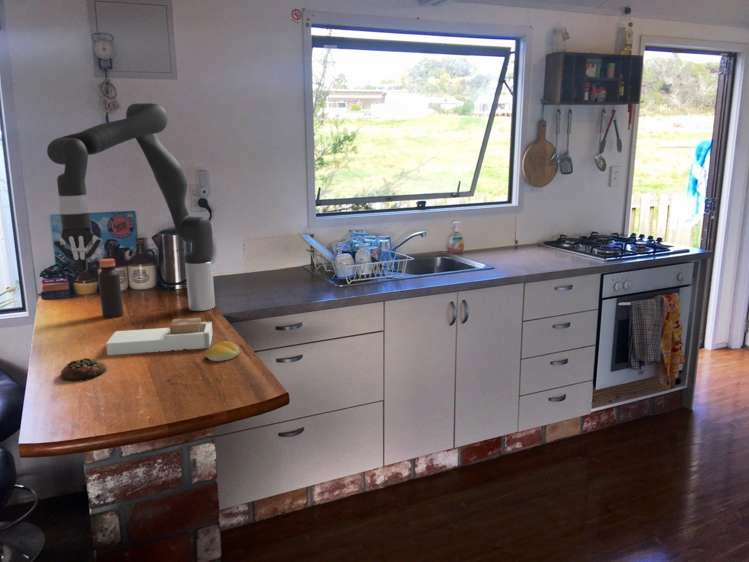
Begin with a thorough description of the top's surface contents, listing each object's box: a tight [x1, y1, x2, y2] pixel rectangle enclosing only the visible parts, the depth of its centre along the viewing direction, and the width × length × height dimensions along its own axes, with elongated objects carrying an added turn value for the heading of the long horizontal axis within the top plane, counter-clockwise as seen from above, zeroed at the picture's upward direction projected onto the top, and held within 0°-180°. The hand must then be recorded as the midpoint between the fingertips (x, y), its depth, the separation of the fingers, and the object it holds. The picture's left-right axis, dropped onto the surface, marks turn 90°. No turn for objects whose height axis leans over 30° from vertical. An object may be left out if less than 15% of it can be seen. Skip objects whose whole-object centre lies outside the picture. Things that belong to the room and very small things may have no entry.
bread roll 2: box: [205, 340, 240, 362], centre depth 172 cm, size 8×9×4 cm
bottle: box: [97, 258, 124, 319], centre depth 214 cm, size 7×7×20 cm
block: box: [169, 317, 202, 334], centre depth 184 cm, size 6×6×8 cm
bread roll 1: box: [59, 357, 108, 382], centre depth 161 cm, size 11×11×5 cm
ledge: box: [105, 327, 171, 356], centre depth 182 cm, size 12×16×4 cm
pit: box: [165, 321, 214, 352], centre depth 184 cm, size 12×12×4 cm
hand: (82, 272), depth 176 cm, fingers closed
